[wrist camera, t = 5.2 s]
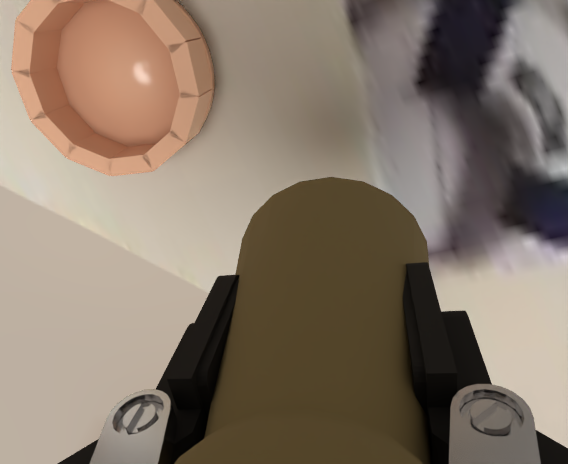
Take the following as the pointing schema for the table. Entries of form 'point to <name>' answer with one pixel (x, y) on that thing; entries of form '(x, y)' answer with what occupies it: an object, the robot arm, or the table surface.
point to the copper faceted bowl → (113, 79)
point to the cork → (320, 335)
